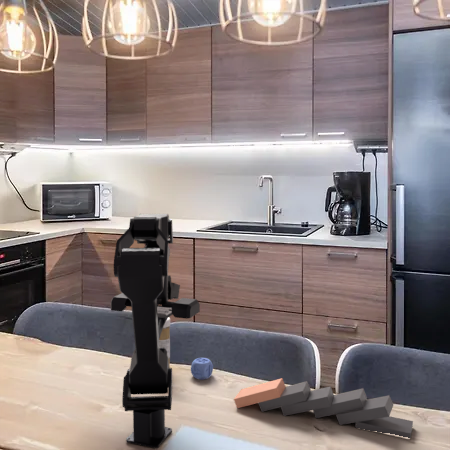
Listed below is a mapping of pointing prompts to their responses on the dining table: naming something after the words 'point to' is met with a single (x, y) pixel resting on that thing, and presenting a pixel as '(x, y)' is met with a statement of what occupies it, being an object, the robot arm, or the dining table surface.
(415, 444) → the dining table surface
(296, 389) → the domino
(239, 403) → the domino
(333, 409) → the domino
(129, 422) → the dining table surface
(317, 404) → the domino
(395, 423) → the domino
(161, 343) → the sprinkles bottle
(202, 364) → the decorative dice
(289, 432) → the dining table surface
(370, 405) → the domino
